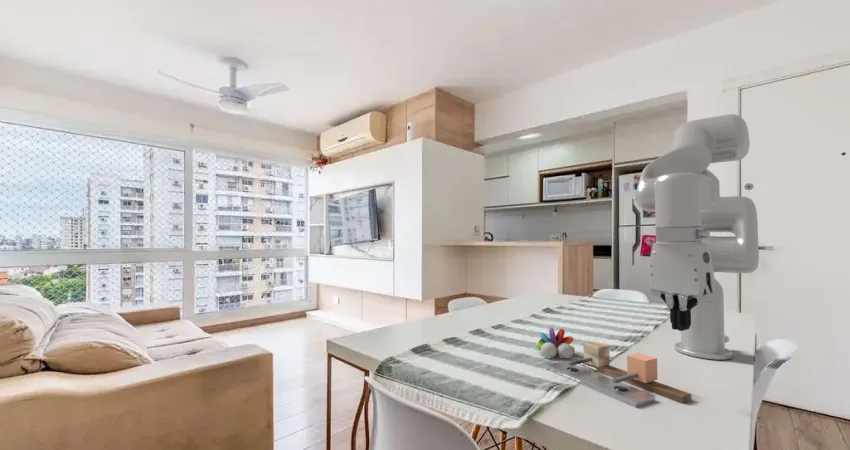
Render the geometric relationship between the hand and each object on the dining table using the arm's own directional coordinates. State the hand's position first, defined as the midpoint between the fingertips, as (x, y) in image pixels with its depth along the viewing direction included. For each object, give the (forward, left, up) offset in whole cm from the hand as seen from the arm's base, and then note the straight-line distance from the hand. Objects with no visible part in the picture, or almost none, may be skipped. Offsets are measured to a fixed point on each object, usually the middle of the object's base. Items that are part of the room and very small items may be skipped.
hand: (680, 328), depth 73 cm
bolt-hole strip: (+9, -13, -14) cm, 21 cm away
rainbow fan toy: (+2, -31, -14) cm, 34 cm away
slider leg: (+4, -7, -12) cm, 15 cm away
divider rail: (+4, -11, -13) cm, 18 cm away
